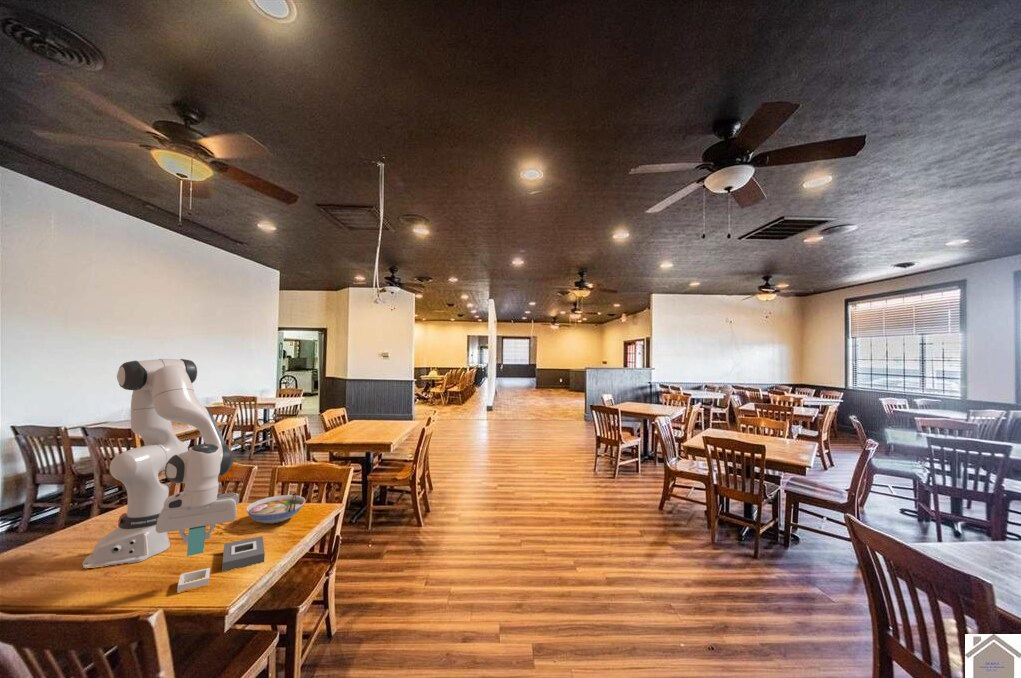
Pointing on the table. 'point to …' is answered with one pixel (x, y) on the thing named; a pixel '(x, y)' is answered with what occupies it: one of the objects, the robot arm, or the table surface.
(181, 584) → the white square frame
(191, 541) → the plug
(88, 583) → the table surface
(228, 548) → the socket block
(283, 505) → the ramen bowl
